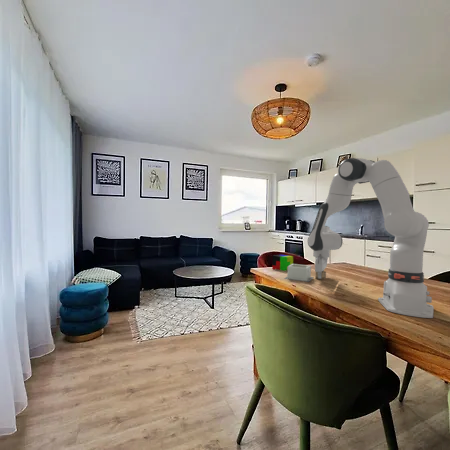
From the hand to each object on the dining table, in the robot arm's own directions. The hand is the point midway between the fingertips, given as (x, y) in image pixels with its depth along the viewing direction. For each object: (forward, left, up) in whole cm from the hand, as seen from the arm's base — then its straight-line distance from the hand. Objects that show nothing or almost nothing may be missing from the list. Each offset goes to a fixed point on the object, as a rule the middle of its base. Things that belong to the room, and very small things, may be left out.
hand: (320, 277), depth 146 cm
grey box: (-6, +11, -1) cm, 13 cm away
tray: (-6, +11, -2) cm, 13 cm away
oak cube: (0, 0, -2) cm, 2 cm away
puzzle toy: (+18, +28, -2) cm, 33 cm away
